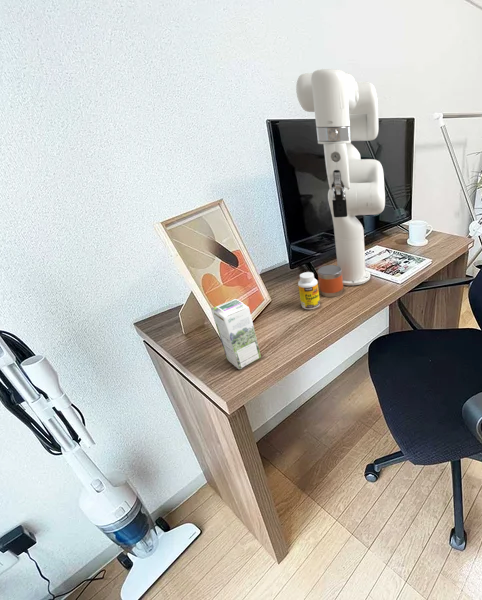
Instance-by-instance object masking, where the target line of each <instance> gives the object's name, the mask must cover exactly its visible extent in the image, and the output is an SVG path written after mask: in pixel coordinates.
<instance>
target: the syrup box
mask: <svg viewBox="0 0 482 600" xmlns="http://www.w3.org/2000/svg"><path fill="white" fill-rule="evenodd" d="M210 311H211V314H212V318H213V320H214V323H215V326H216V329H217V332H218V333H217V334H218V336H219V339H220V341H221V345H222V348H223V351H224V352H223V353H224V354H225V358H226V360H227V361H228V362H229V363H230V364H231V365H233V366H234V367H235V368H236V369H238V370H239V371H240V370H242V369H244V368H246V367H247V366H249V365H251V364H253V363H254V362H256V361H258V360H260V359H261V358H262V355H261V351H260V347H259V344H258V337H257V335H256V330H255V326H254V322H253V319H252V318H253V317H252V314H251V310H250V307H249V306H248V305H246V304H245V303H244V302H243V301H241V300H239V299H237V298H233V299H231V300H229V301H226V302H224V303H221V304H219V305H216V306H214V307H212V308H210Z"/></svg>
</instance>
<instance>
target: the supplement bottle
mask: <svg viewBox="0 0 482 600" xmlns="http://www.w3.org/2000/svg"><path fill="white" fill-rule="evenodd" d="M297 286H298V293H299V298H300V299H299V300H300V305H301V307H302V309H305V310H310V311H311V310H315V309H318V307H320V305H321V298H320V289H319V281H318V280H317V279H316V278H315V274H314V272H312V271H306V272H305V271H304V272H302V273H300V274H299V280H298V281H297Z"/></svg>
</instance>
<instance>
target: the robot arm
mask: <svg viewBox="0 0 482 600" xmlns="http://www.w3.org/2000/svg"><path fill="white" fill-rule="evenodd" d="M295 90H296V92H295V93H296V98H297V100H298V104H299V106H300V107H301V108H302V109H303V110H304V112H308V113H314V117H315V118H314V119H315V127H316V128H315V129H316V136H317V138H316V139H317V144H318V145H323V153H324V162H325V163H324V164H325V170H326V176H327V182H328V187H329V189H328V191H327V202H328V205H329V209H330V214H331V218H332V225H333V233H334V243H335V244H334V245H335V254H336V264H337V265H336V266H339V267H340V268H341V269H342V278H343V286H349V287H351V286H359V285H364V284H366V283H367V282H368V281H370V279H371V272H370V271H369V270H367V269H366V250H365V231H364V230H365V229H364V227H363V224H362V222H361V221H360V220H359V219H358V218H357V217H356V216H372V215H374V216H375V215H379V214H382V212H383V211H385V206H386V190H385V174H384V168H383V166H382V163H381V161H380V160H377V159H375V158H374V159H373V158H361V153H360V152H359V150H358V149H357V148H356V147H355V146H354V144H353V143H352V142H364V141H365V142H366V141H367V142H369V141H374V140H375V139H377V137H378V136H379V131H380V130H379V128H380V127H379V126H380V125H379V101H378V92H377V90H376V87H375V85H374V84H373V83H372V82H371V81H356V79H355V77H354V76H353V75H352V74H350V73H349V72H345V71H343V70H341V69H337V68H322V69H316V70H314V71H313V72H308V73H302V74H300V75H299V76H298V78H297V80H296V86H295Z"/></svg>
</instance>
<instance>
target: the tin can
mask: <svg viewBox="0 0 482 600" xmlns="http://www.w3.org/2000/svg"><path fill="white" fill-rule="evenodd" d="M317 278H318V288H319V294H320V295H321V296H323V297H325V298H334V297H338V296H340V295H342V294H343V293H344V285H343V278H342V269H341V268H340V267H339V266H338V265H335V264H327V265H324V266H321V267H319V268H318V269H317Z"/></svg>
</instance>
